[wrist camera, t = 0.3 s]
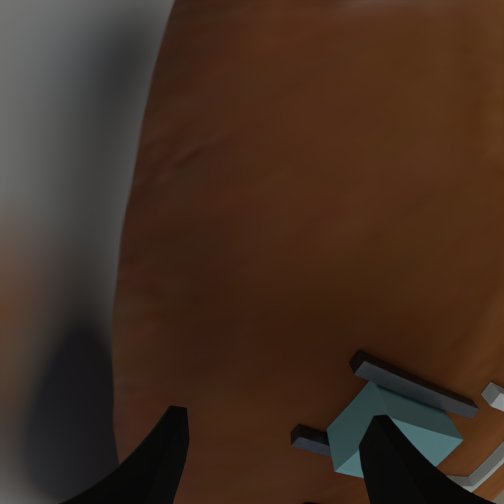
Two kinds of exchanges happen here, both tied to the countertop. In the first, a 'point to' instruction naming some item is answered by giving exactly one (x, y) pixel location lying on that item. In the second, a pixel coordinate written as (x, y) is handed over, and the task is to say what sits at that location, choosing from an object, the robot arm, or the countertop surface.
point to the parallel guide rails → (394, 381)
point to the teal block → (402, 414)
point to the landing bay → (499, 400)
